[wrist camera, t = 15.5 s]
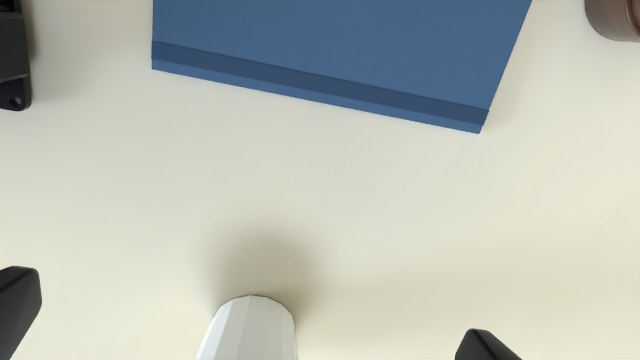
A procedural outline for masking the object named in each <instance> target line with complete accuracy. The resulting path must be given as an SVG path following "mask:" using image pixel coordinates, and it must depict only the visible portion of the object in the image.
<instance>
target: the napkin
mask: <svg viewBox="0 0 640 360" xmlns="http://www.w3.org/2000/svg"><path fill="white" fill-rule="evenodd" d="M531 2H532V0H153V37H152V57H151V58H152V69H154V70H159V71H164V72H169V73H175V74H180V75H185V76H190V77H195V78H200V79H205V80H210V81H215V82H220V83H225V84H230V85H235V86H240V87H245V88H250V89H255V90H260V91H265V92H270V93H275V94H280V95H285V96H290V97H295V98H300V99H305V100H310V101H315V102H320V103H325V104H330V105H335V106H341V107H346V108H351V109H356V110H361V111H366V112H371V113H376V114H381V115H386V116H391V117H396V118H401V119H406V120H411V121H416V122H421V123H426V124H431V125H436V126H441V127H446V128H451V129H456V130H461V131H466V132H471V133H476V134H479V133H480V131H481V128H482V126H483V125H484V122H485V120H486V117H487V115H488V112H489V111H488V110H489V108H490V105H491V103H492V100H493V98H494V95H495V93H496V90H497V88H498V85H499V83H500V80H501V78H502V75H503V72H504V70H505V67H506V65H507V62H508V60H509V57H510V55H511V52H512V50H513V47H514V45H515V42H516V40H517V37H518V35H519V32H520V29H521V27H522V24H523V22H524V19H525V17H526V14H527V12H528V9H529V7H530V4H531Z"/></svg>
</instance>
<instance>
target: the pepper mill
mask: <svg viewBox="0 0 640 360" xmlns="http://www.w3.org/2000/svg"><path fill="white" fill-rule="evenodd" d="M585 9H586V13H587V17H588V19H589V22H590V23H591V25H592V27H593V28H594V29H595V30H596V31H597V32H598V33H599V34H601V35H602V36H604V37H606V38H609V39H612V40H617V41H628V42H640V0H585Z"/></svg>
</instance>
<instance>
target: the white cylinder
mask: <svg viewBox="0 0 640 360" xmlns="http://www.w3.org/2000/svg"><path fill="white" fill-rule="evenodd" d="M195 360H298V354H297V342H296V330H295V324H294V321H293V318H292V314H291V313H290V312H289V311H288V310H287V309H286V308H285V307H284V306H283V305H282V304H280V303H278V302H276V301H274V300H272V299H270V298H268V297H260V296H252V295H249V296H244V297H238V298H234V299H232V300H230V301H229V302H227V303H225V304H224V305H222V306H221V307H220V308H219V310H218V311H217V312H216V314H215V315H214V317H213V319H212V321H211V324H210V326H209V328H208V330H207V333H206V335H205V337H204V340H203V342H202V344H201V346H200V349H199V351H198V353H197V356H196V358H195Z"/></svg>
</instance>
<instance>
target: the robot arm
mask: <svg viewBox="0 0 640 360" xmlns="http://www.w3.org/2000/svg"><path fill="white" fill-rule="evenodd" d="M29 72H30V71H29V62H28V53H27V43H26V34H25V25H24V19H23V18H22V12H21V3H20V0H0V108H1V109H6V110H12V111H22V110H25V109H27V108H29V107H30V105H31V95H30V86H29V77H28V74H29ZM15 97H17V98H18V99H19V100H20V104H18V103H17V102H16V100H15ZM41 304H42V296H41V288H40V280H39V274H38V272H37V270H36V269H34V268H28V267H21V266H10V267H7V268H5V269H2V270H0V360H10V358H11V357H12V355H13V353H14V352H15V350H16V349H17V347H18V345H19V344H20V342H21V341H22V339H23V337H24V336H25V334H26V332H27V331H28V329H29V328H30V326H31V324H32V323H33V321H34V320H35V318H36V316H37V315H38V313H39V311H40V308H41ZM455 360H522V359H521V358H520V357H518V356H517V355H516V354H515V353H514V352H513V351H511V350H510V349H509V348H508V347H507V346H506V345H504V344H503V343H502V342H501V341H500V340H499V339H497V338H496V337H495V336H494V335H493V334H492V333H490V332H489V331H486V330H481V329H473V328H472V329H469V330H468V331H467V332H466V334H465V336H464V338H463V340H462V342H461V344H460V346H459V348H458V350H457V352H456V355H455Z"/></svg>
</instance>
